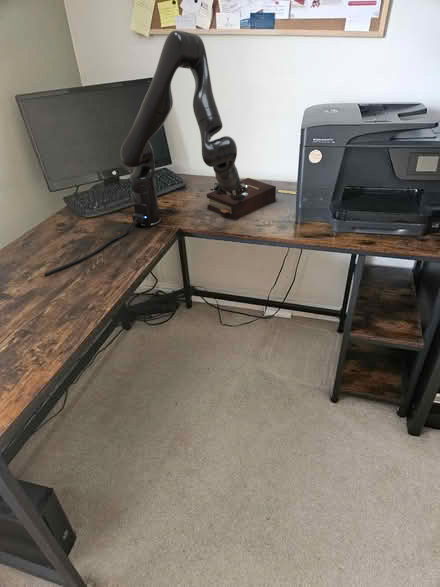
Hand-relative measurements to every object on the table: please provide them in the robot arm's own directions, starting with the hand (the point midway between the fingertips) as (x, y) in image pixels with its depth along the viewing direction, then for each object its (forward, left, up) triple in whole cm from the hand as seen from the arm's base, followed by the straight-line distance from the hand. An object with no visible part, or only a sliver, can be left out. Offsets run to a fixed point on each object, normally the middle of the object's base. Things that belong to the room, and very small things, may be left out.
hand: (234, 196), depth 152 cm
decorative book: (+20, +5, -13) cm, 24 cm away
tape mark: (+40, -9, -12) cm, 43 cm away
